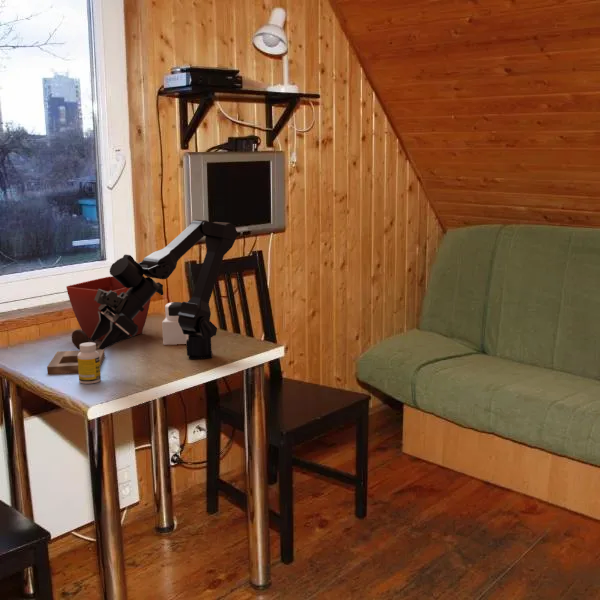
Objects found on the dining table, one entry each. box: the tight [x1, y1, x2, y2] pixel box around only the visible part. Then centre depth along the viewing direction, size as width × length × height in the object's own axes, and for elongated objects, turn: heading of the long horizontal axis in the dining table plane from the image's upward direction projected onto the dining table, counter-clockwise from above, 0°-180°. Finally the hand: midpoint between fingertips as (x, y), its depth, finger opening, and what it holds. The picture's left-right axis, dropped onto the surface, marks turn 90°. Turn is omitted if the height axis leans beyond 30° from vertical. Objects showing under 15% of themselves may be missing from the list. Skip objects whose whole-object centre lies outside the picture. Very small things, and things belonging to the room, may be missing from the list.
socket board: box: [46, 349, 106, 375], centre depth 212 cm, size 13×15×2 cm
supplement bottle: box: [78, 341, 102, 385], centre depth 196 cm, size 5×5×10 cm
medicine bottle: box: [161, 301, 188, 346], centre depth 233 cm, size 7×7×12 cm
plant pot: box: [66, 276, 152, 341], centre depth 240 cm, size 19×19×17 cm
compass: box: [71, 328, 100, 351], centre depth 225 cm, size 8×8×7 cm
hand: (96, 344), depth 196 cm, fingers open, 9 cm apart
